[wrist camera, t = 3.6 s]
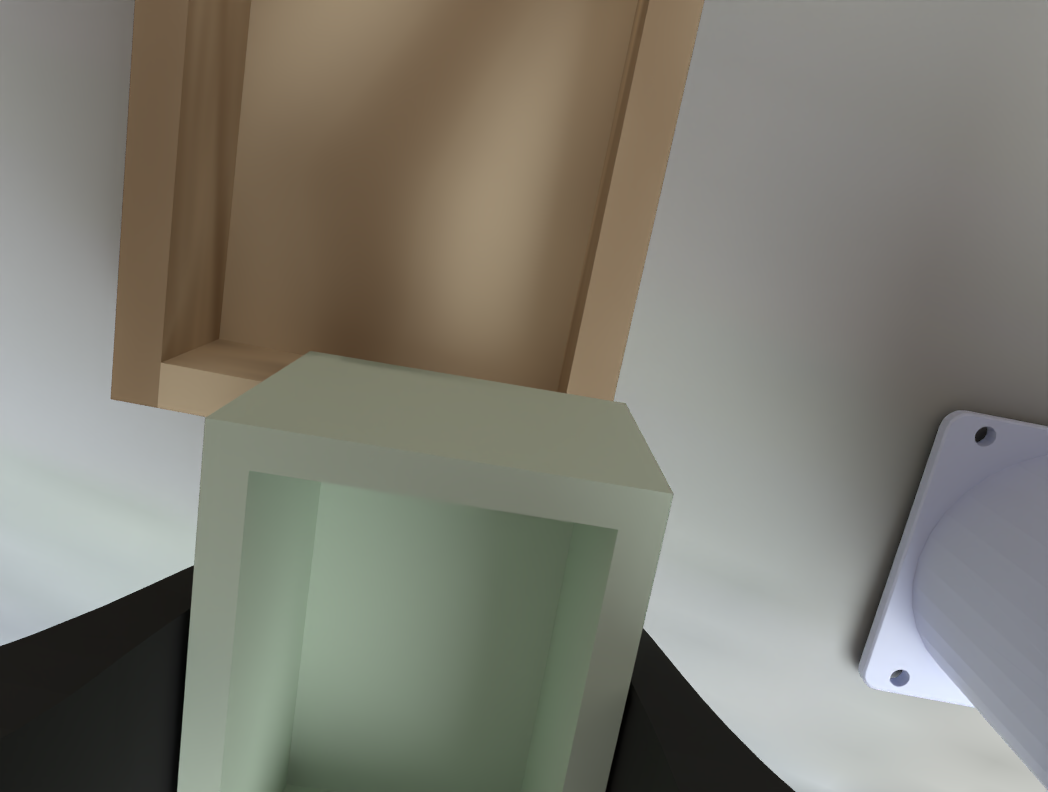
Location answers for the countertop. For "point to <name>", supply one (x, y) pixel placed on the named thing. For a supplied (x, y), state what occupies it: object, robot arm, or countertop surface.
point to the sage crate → (415, 584)
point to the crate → (390, 188)
